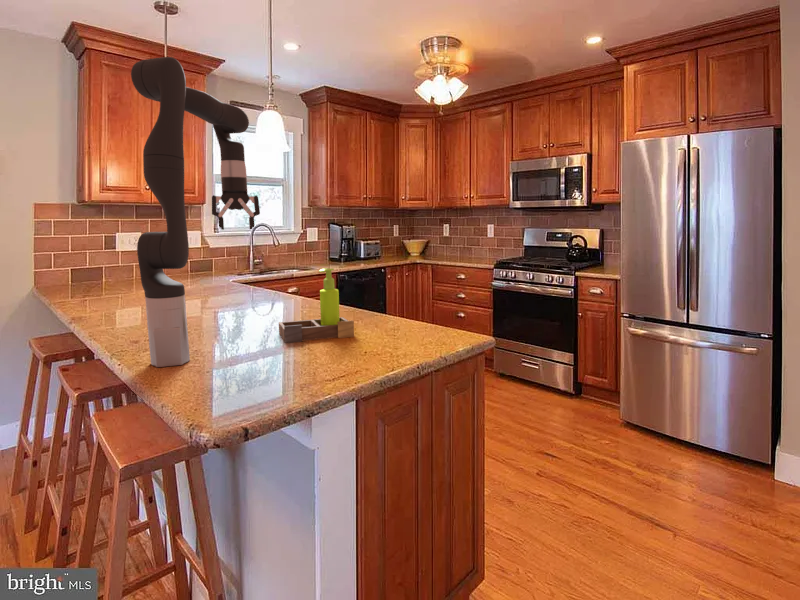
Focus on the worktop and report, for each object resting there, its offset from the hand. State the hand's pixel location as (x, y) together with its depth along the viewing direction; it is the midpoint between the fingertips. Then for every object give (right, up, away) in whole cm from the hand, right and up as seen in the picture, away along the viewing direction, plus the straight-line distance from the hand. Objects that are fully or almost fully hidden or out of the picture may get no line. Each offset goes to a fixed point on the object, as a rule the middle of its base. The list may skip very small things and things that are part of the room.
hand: (237, 229), depth 163 cm
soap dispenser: (+29, -32, +1) cm, 43 cm away
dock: (+25, -33, 0) cm, 41 cm away
